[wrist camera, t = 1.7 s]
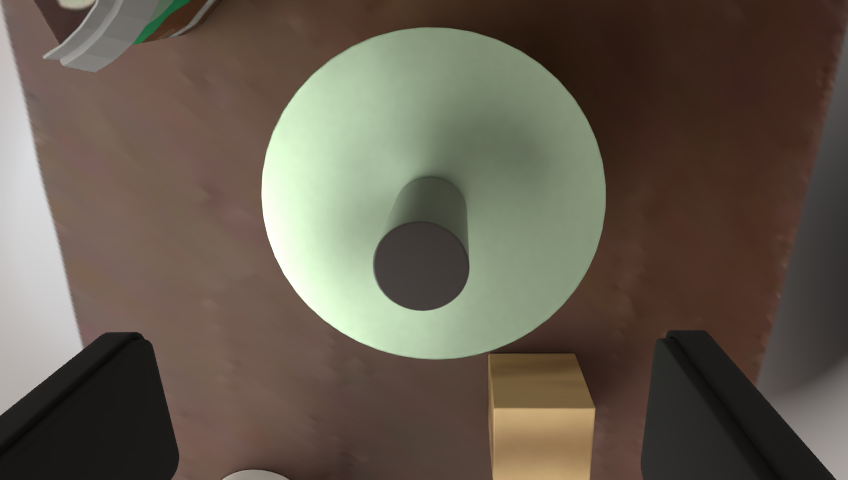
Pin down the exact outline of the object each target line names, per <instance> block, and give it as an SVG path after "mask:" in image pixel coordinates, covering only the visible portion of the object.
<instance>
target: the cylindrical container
mask: <svg viewBox="0 0 848 480" xmlns="http://www.w3.org/2000/svg"><path fill="white" fill-rule="evenodd" d="M223 480H289V479H287V478H285V477H284V476H281V475H279V474H276V473H273V472H269V471H264V470H243V471H239V472H236V473H233V474H231V475H229V476H227V477H225V478H224V479H223Z"/></svg>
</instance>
